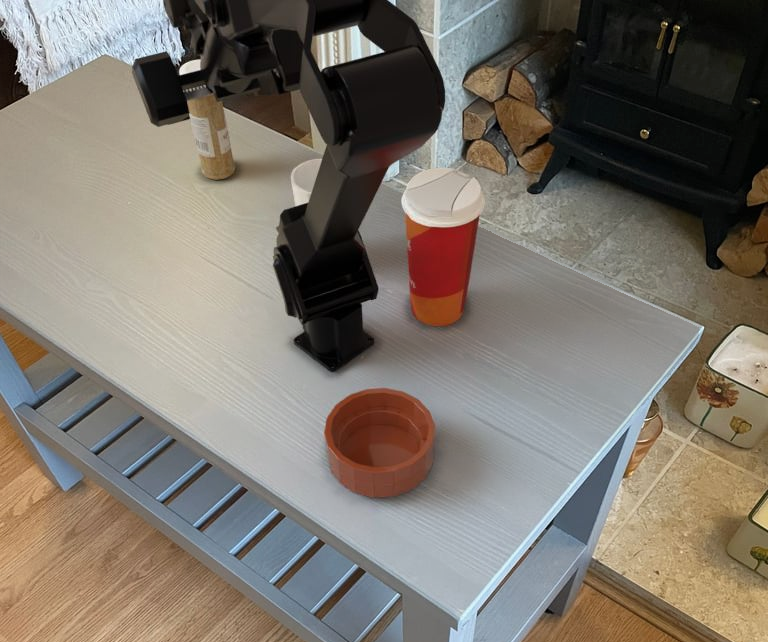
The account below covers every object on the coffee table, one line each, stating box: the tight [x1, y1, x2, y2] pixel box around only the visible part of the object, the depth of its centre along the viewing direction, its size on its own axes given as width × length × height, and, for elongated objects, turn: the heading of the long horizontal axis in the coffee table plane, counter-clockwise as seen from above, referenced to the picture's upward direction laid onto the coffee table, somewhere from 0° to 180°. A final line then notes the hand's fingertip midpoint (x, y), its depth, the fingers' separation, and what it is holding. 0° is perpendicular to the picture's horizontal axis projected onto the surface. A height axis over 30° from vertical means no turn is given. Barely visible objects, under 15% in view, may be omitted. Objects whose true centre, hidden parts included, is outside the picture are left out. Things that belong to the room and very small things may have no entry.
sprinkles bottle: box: [178, 59, 236, 181], centre depth 101 cm, size 5×5×13 cm
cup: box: [290, 157, 323, 207], centre depth 91 cm, size 7×7×11 cm
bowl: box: [323, 387, 436, 498], centre depth 77 cm, size 10×10×4 cm
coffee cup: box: [400, 167, 486, 327], centre depth 84 cm, size 8×8×15 cm
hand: (217, 101), depth 93 cm, fingers open, 9 cm apart
